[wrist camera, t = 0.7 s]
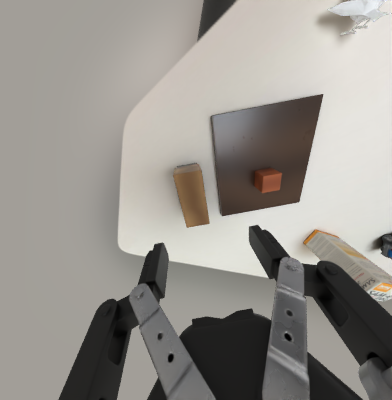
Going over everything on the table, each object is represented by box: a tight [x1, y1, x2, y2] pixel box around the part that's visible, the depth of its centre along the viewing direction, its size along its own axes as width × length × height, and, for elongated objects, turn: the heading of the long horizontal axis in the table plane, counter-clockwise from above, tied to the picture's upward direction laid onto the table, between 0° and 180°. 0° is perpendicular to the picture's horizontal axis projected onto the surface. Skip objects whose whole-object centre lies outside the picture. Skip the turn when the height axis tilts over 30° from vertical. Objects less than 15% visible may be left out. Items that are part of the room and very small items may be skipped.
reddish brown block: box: [254, 168, 282, 193], centre depth 24 cm, size 3×3×3 cm
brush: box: [173, 163, 209, 228], centre depth 24 cm, size 4×10×6 cm, turn 10°
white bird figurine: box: [327, 0, 392, 36], centre depth 15 cm, size 8×5×5 cm, turn 110°
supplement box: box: [304, 230, 392, 301], centre depth 30 cm, size 8×5×13 cm, turn 69°
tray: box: [211, 94, 323, 216], centre depth 25 cm, size 18×16×1 cm
